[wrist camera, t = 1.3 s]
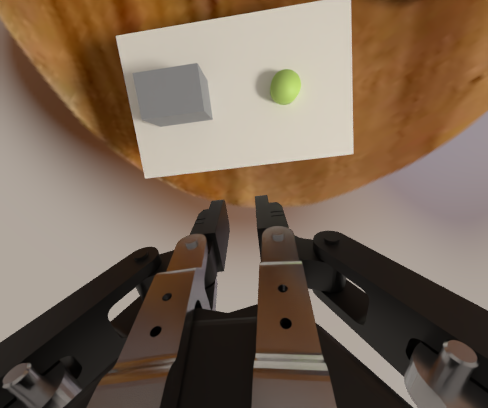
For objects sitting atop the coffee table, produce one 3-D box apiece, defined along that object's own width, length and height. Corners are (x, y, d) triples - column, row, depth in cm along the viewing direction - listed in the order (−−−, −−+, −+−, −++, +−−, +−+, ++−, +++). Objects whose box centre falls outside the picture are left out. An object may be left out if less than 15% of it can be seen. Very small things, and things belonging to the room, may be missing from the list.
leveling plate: (130, 48, 24) (85, 8, 18) (340, 14, 23) (374, -45, 16) (155, 177, 27) (124, 181, 21) (343, 154, 26) (373, 152, 19)
